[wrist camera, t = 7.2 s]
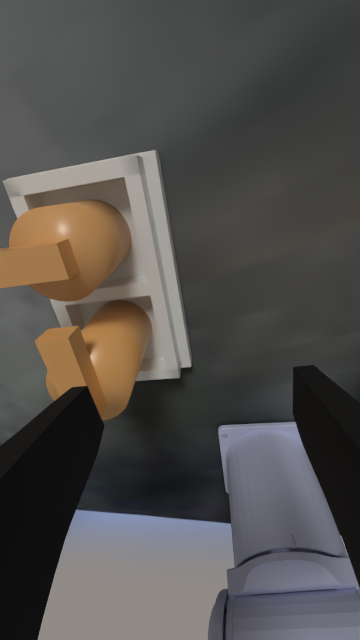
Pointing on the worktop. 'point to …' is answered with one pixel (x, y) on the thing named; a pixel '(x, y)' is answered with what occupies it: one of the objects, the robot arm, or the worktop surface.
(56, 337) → the peg
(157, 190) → the housing
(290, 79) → the worktop surface
